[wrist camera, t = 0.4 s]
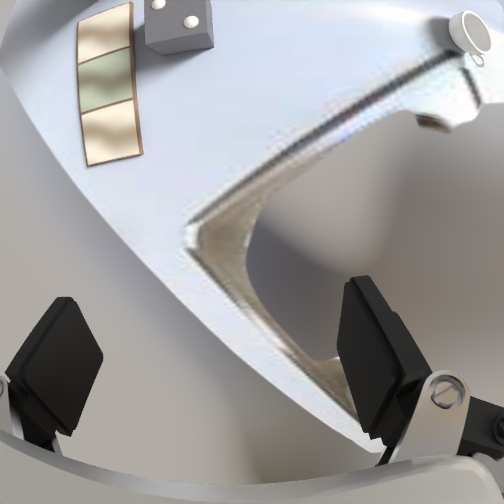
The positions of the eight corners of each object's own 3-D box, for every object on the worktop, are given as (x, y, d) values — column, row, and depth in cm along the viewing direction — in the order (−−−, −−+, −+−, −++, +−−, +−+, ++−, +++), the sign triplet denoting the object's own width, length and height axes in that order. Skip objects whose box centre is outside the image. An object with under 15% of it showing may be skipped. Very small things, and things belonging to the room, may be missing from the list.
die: (160, 14, 26) (144, -4, 19) (211, 5, 26) (204, -16, 19) (162, 56, 29) (144, 44, 22) (214, 47, 29) (207, 31, 22)
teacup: (435, 15, 24) (454, 8, 19) (463, 17, 23) (481, 12, 18) (456, 68, 28) (477, 67, 23) (481, 67, 27) (501, 66, 22)
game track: (80, 23, 24) (77, 21, 23) (133, 3, 24) (130, 1, 23) (90, 165, 35) (87, 166, 34) (143, 153, 35) (141, 154, 34)
